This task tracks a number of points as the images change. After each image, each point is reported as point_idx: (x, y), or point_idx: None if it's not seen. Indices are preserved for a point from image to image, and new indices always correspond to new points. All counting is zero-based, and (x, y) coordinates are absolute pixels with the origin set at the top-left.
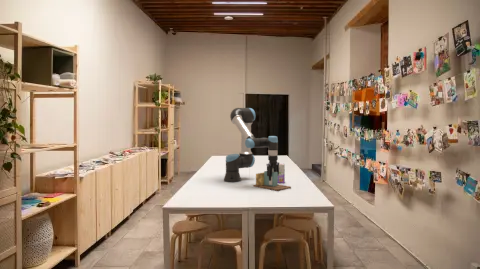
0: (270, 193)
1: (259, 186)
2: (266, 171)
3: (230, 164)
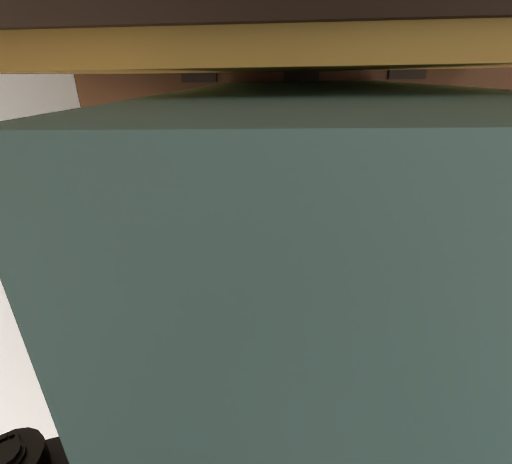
0: (3, 422)
1: (79, 78)
2: (173, 364)
3: None
